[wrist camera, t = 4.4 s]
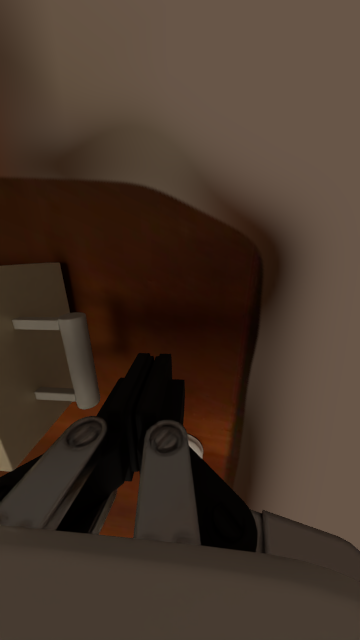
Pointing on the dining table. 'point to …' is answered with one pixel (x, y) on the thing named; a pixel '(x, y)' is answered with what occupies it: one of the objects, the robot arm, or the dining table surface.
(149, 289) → the dining table surface
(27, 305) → the drawer
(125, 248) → the dining table surface
